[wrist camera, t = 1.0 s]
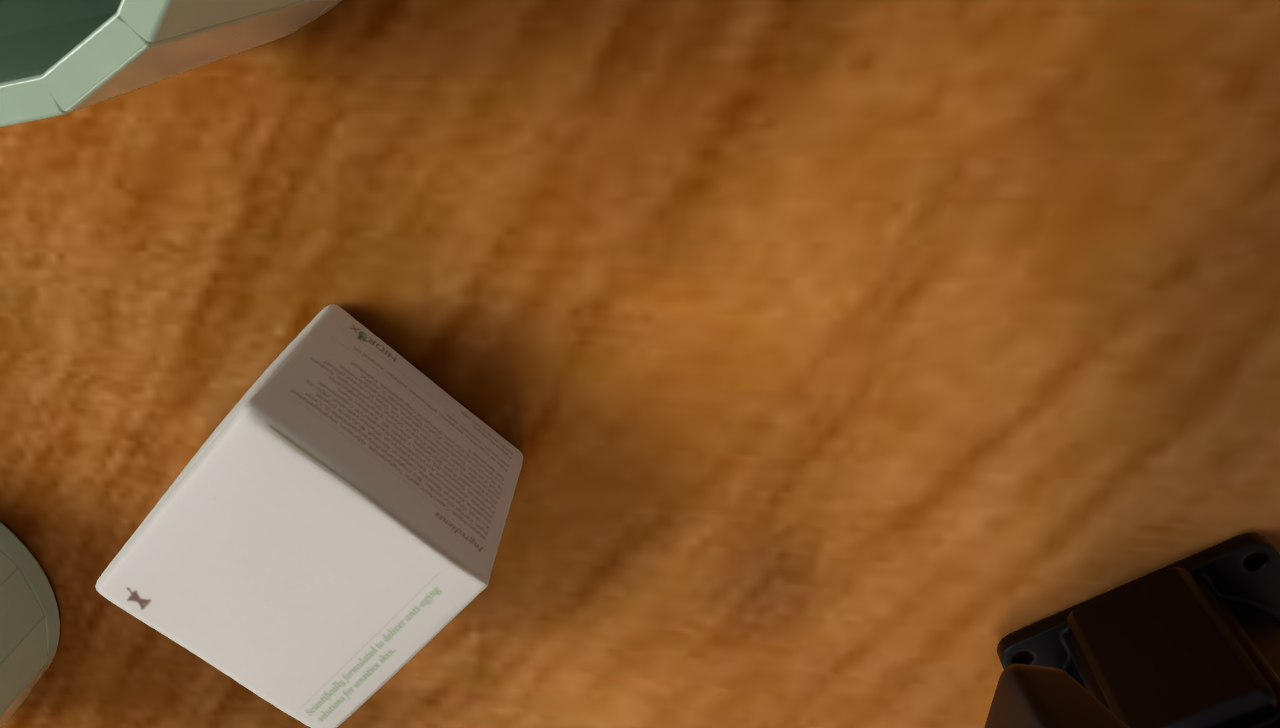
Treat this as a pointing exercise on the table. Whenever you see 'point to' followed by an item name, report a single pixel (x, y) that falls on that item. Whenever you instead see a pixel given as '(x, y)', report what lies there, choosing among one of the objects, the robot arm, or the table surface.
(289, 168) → the table surface
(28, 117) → the cup
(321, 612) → the small box
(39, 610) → the cup
